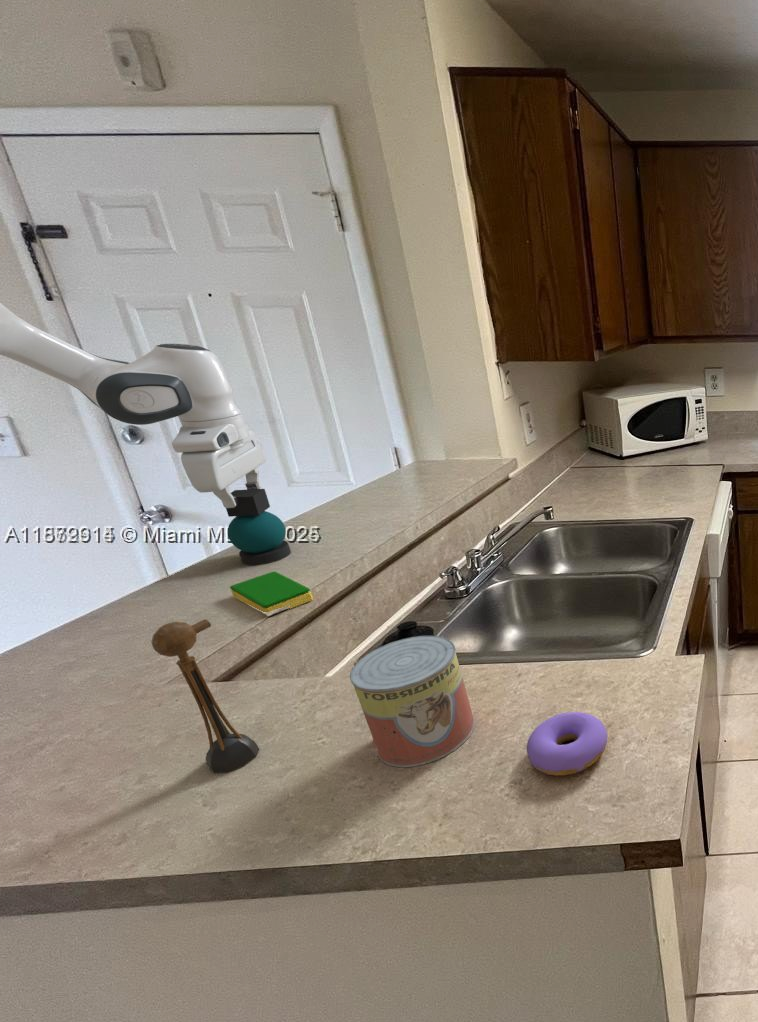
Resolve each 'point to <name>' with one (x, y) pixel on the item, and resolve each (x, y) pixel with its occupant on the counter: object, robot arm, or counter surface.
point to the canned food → (414, 700)
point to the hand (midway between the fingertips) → (243, 498)
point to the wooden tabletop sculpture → (205, 698)
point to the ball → (259, 538)
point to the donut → (570, 756)
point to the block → (249, 502)
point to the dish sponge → (271, 592)
